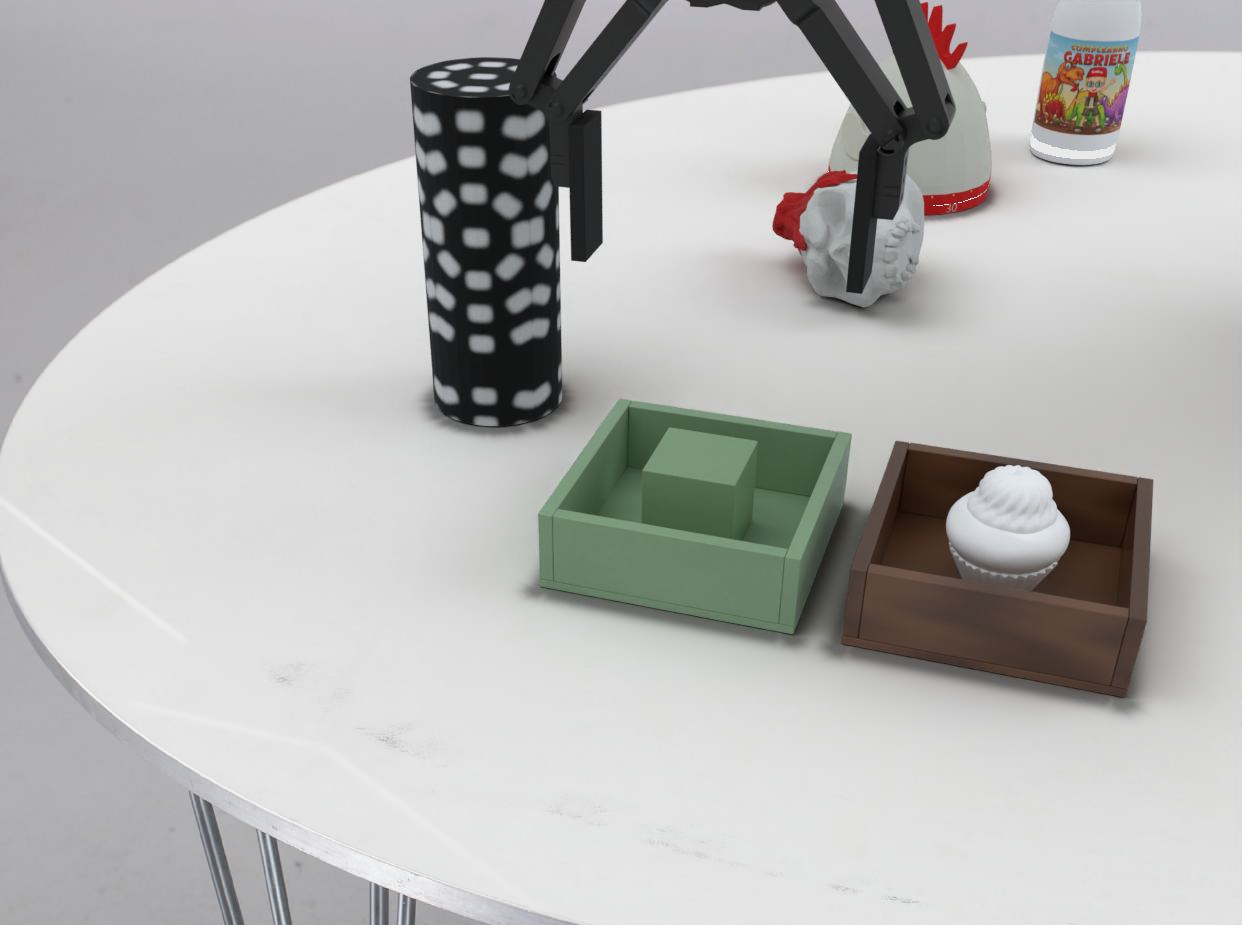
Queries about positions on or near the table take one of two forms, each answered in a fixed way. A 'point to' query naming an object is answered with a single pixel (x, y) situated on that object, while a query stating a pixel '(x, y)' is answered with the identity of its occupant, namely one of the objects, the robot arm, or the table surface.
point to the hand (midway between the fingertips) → (719, 267)
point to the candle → (826, 237)
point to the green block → (700, 484)
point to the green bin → (685, 561)
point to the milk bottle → (1086, 76)
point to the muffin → (1008, 529)
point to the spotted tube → (488, 243)
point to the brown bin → (994, 615)
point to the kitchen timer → (941, 164)
